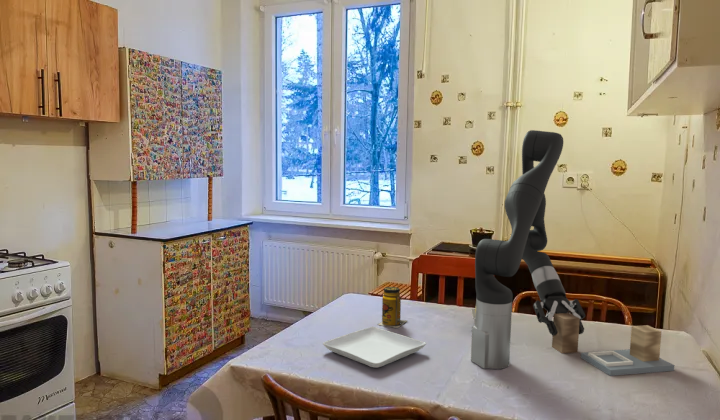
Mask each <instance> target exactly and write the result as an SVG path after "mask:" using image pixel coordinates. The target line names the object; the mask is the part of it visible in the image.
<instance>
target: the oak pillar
mask: <svg viewBox="0 0 720 420" xmlns="http://www.w3.org/2000/svg"><path fill="white" fill-rule="evenodd" d="M661 343H662V331H661V330H659V329H657V328H654V327H652V326H651V325H648V324H647V325H632V326H631V330H630V345H629V346H630V347H629V349H630V355H632V356H633V357H635V358H637V359H639V360H641V361H643V362H644V361H657V360H659V358H661V357H660V354H661Z"/></svg>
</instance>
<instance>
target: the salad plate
mask: <svg viewBox="0 0 720 420" xmlns="http://www.w3.org/2000/svg"><path fill="white" fill-rule="evenodd" d="M322 345H323V346H324V347H325V348H326V349H327V350H329V351H331V352H333V353H335V354H337V355H340V356H343V357H345V358H347V359H350V360H352V361H355V362H357V363H360V364H363V365H366V366H369V367H370V368H381V367H383V366H386V365H388V364H391V363H393V362H396V361H398V360H400V359H403V358H405V357H408V356H409V355H412V354H415V353H416V352H418V351H421V349H423V348H424V347H425V346H426V345H427V343H426V342H425V341H421V340H419V339H416V338H412V337H409V336H406V335H402V334H399V333H396V332H393V331H388V330H386V329H382V328H380V327H376V326H370V327H367V328H362V329H360V330H356V331H352V332H349V333H347V334H344V335H341V336H338V337H335V338H332V339H330V340H327V341H324V342H322Z"/></svg>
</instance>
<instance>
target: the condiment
mask: <svg viewBox="0 0 720 420" xmlns="http://www.w3.org/2000/svg"><path fill="white" fill-rule="evenodd" d="M381 300H382V301H381V306H382V307H381V311H382V312H381V314H382V315H381V322H380V323H377V325H379V326H382V327H388V328H395V329H398V328H400V327H401V326H403V325H404V324H405V323H407V321H408V320H406V319H405V320H404V319H401V312H402V311H401V305H402V304H401V303H402V302H401V301H402V297H401V290H400V288H399V287H396V286H386V287H384V288H383V296H382V299H381Z"/></svg>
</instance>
